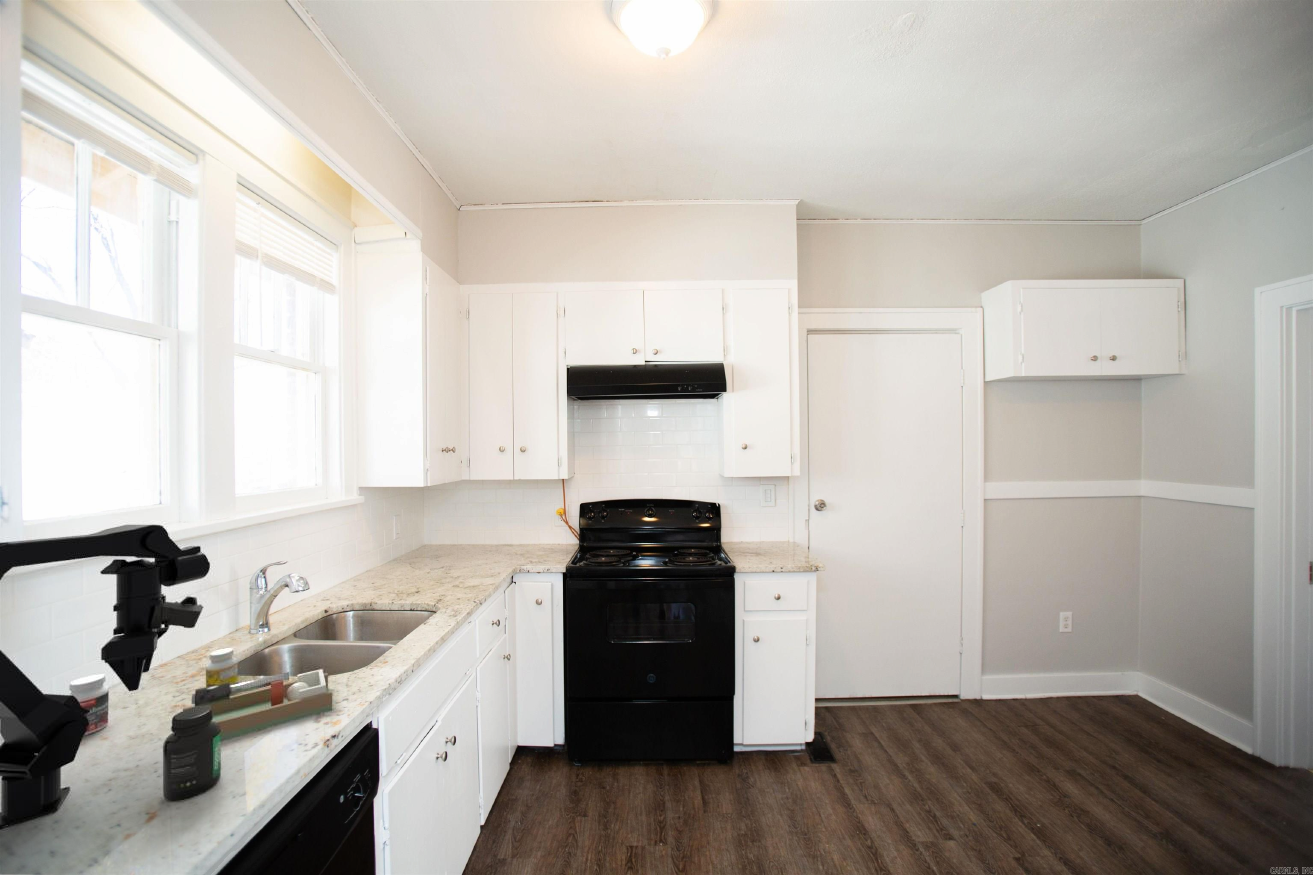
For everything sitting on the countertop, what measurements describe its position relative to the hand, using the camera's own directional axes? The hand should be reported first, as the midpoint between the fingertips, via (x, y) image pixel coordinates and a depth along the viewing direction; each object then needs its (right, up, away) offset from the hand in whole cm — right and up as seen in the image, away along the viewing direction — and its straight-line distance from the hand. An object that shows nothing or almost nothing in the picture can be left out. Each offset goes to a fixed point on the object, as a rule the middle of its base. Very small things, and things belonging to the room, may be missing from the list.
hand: (139, 680), depth 91 cm
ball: (+18, -10, +15) cm, 25 cm away
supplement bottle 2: (-4, -14, +22) cm, 26 cm away
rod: (+10, -11, +10) cm, 18 cm away
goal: (+19, -12, +17) cm, 28 cm away
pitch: (+13, -13, +12) cm, 21 cm away
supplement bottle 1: (+19, -13, -10) cm, 25 cm away
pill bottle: (-19, -14, +8) cm, 24 cm away
